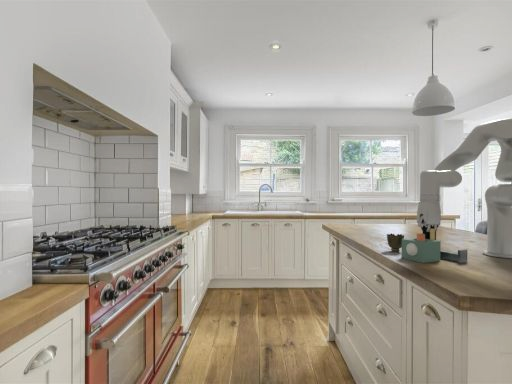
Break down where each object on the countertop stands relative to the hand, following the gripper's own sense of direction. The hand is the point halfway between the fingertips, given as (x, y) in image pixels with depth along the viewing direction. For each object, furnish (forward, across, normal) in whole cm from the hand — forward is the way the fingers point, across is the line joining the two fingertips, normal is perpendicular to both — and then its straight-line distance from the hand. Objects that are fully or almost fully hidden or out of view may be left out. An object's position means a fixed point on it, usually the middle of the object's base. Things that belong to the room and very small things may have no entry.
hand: (429, 239), depth 131 cm
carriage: (+7, 0, 0) cm, 7 cm away
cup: (+7, +7, -12) cm, 15 cm away
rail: (+7, 0, +5) cm, 9 cm away
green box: (+7, +11, +4) cm, 14 cm away
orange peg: (+4, +11, +4) cm, 12 cm away
